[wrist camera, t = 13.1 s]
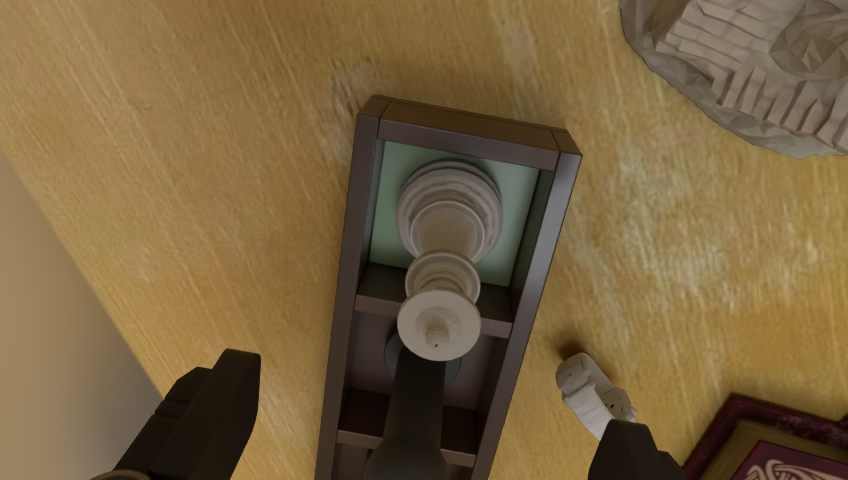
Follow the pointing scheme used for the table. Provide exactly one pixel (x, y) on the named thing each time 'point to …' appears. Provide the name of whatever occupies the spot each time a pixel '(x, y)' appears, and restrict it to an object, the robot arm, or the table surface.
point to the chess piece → (445, 254)
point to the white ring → (592, 394)
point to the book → (770, 446)
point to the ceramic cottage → (754, 65)
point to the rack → (389, 260)
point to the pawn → (412, 416)
